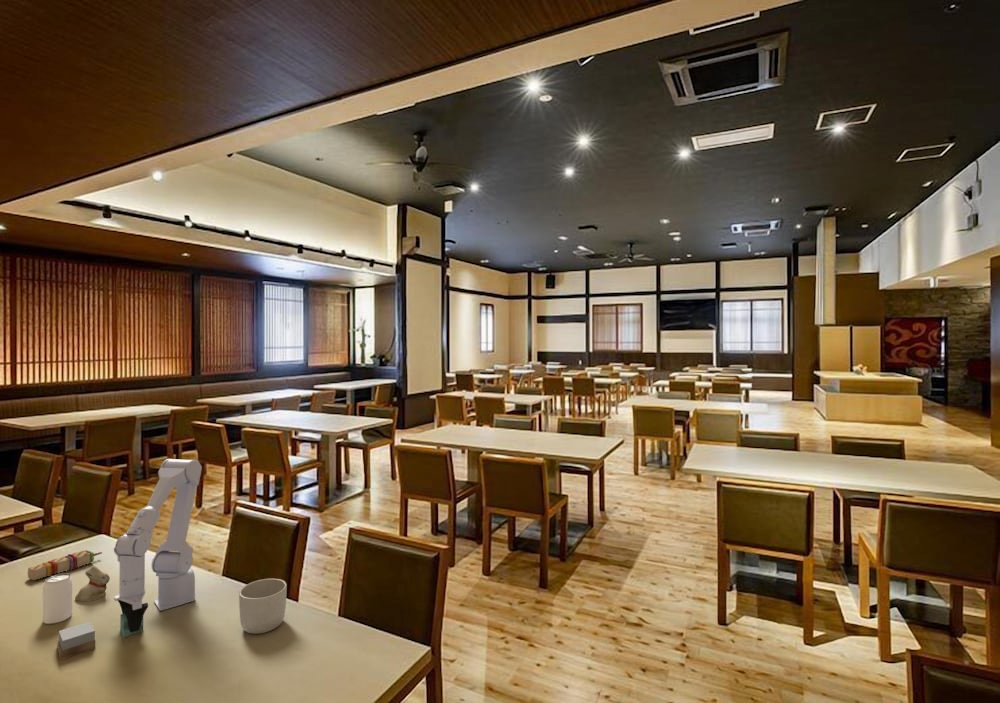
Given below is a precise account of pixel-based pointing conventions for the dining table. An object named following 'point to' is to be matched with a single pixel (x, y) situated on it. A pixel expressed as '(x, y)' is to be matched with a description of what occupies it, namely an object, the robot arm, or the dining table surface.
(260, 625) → the planter
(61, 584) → the can
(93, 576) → the chocolate bunny
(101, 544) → the dining table surface
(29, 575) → the skewer
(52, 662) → the dining table surface
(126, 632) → the teal block
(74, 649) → the tower base
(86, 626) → the tower top
